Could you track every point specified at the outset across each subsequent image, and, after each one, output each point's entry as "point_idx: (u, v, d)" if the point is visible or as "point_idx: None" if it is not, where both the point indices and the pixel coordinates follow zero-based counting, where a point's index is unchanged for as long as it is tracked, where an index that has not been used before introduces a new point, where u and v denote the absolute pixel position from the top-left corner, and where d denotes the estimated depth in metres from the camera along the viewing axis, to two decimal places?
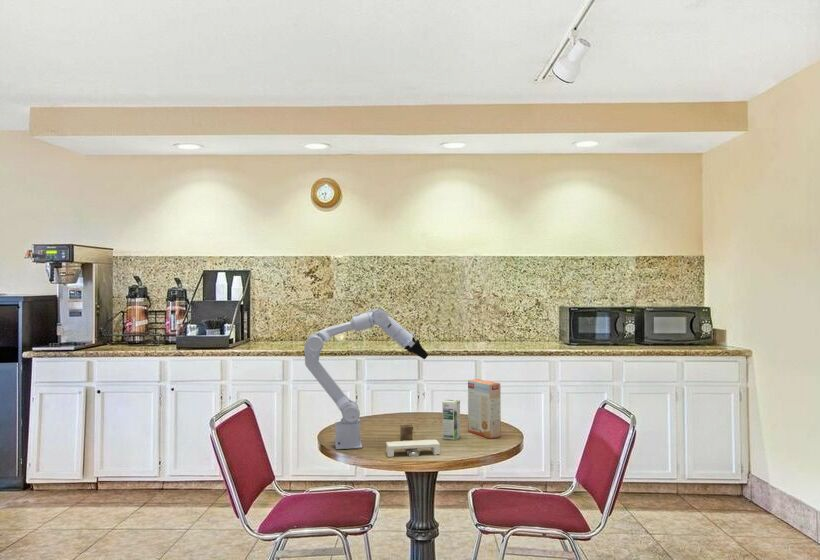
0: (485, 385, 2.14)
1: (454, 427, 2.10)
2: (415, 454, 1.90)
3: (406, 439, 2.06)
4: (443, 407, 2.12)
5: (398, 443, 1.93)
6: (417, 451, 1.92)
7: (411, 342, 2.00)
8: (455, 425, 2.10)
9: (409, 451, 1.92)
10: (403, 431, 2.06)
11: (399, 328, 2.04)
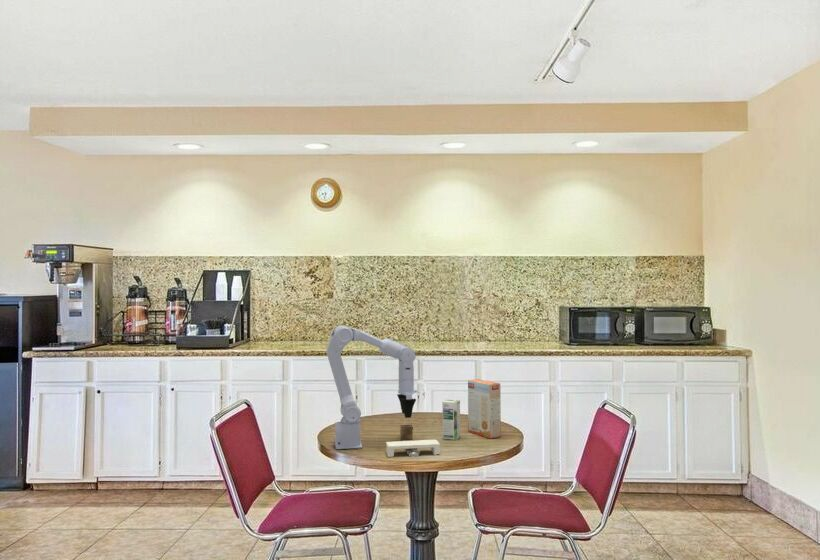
0: (485, 385, 2.14)
1: (454, 427, 2.10)
2: (415, 454, 1.90)
3: (406, 439, 2.06)
4: (443, 407, 2.12)
5: (398, 443, 1.93)
6: (417, 451, 1.92)
7: (410, 396, 2.01)
8: (455, 425, 2.10)
9: (409, 451, 1.92)
10: (403, 431, 2.06)
11: (411, 377, 2.07)
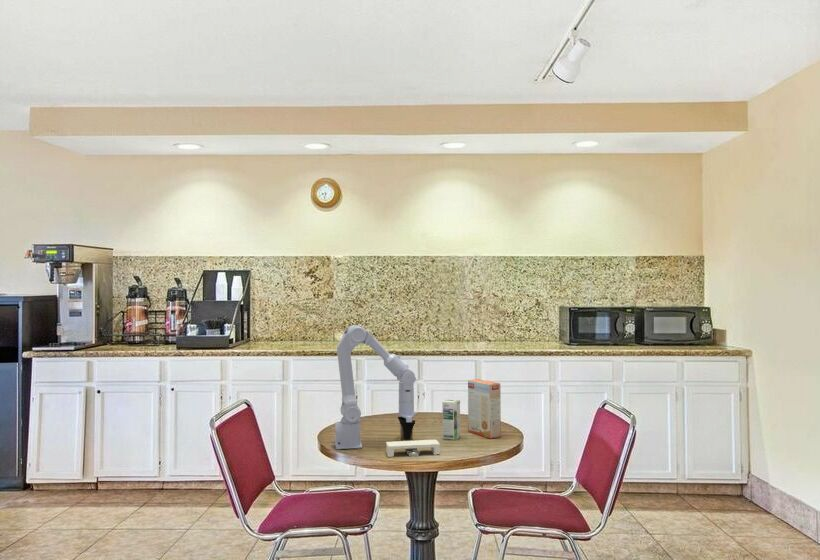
0: (485, 385, 2.14)
1: (454, 427, 2.10)
2: (415, 454, 1.90)
3: (406, 439, 2.06)
4: (443, 407, 2.12)
5: (398, 443, 1.93)
6: (417, 451, 1.92)
7: (410, 419, 2.01)
8: (455, 425, 2.10)
9: (409, 451, 1.92)
10: None
11: (412, 400, 2.07)
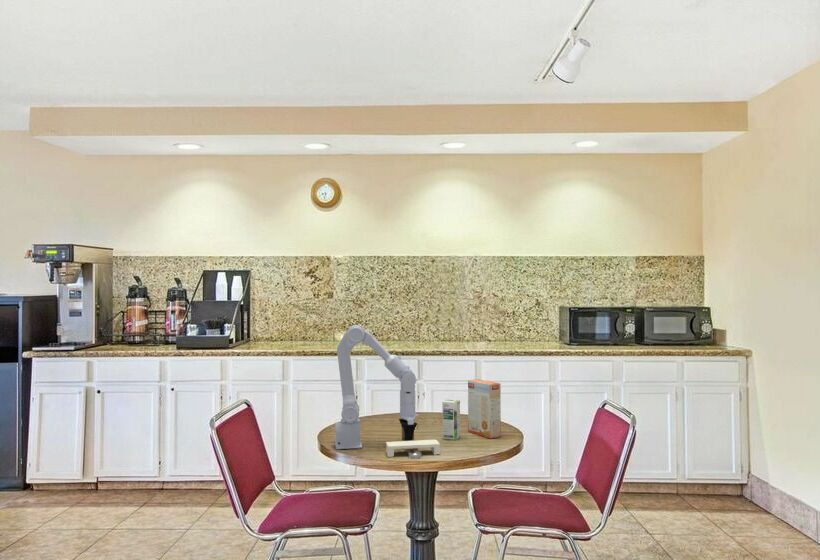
0: (485, 385, 2.14)
1: (454, 427, 2.10)
2: (417, 456, 1.87)
3: None
4: (443, 407, 2.12)
5: (398, 443, 1.93)
6: (419, 453, 1.89)
7: (412, 421, 1.98)
8: (455, 425, 2.10)
9: (410, 453, 1.89)
10: None
11: (412, 402, 2.03)
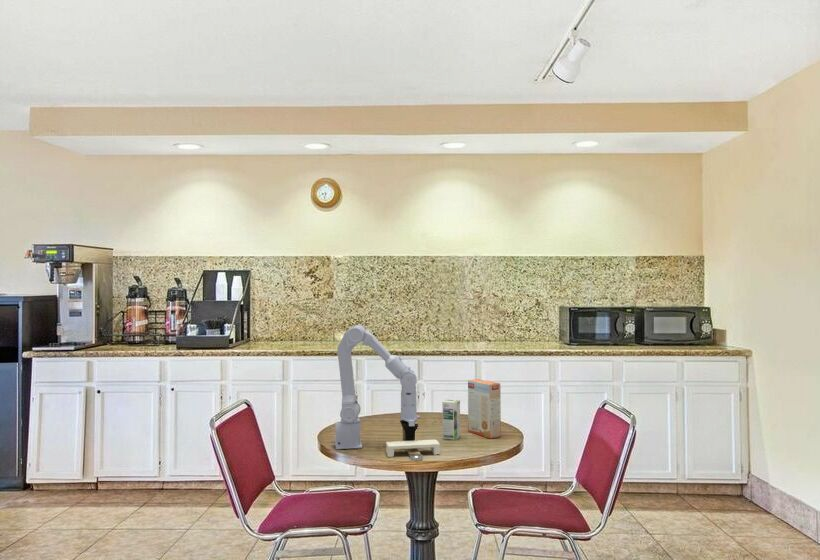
0: (485, 385, 2.14)
1: (454, 427, 2.10)
2: (418, 458, 1.85)
3: None
4: (443, 407, 2.12)
5: (398, 443, 1.93)
6: (420, 455, 1.87)
7: (413, 423, 1.95)
8: (455, 425, 2.10)
9: (412, 455, 1.87)
10: None
11: (412, 403, 2.00)
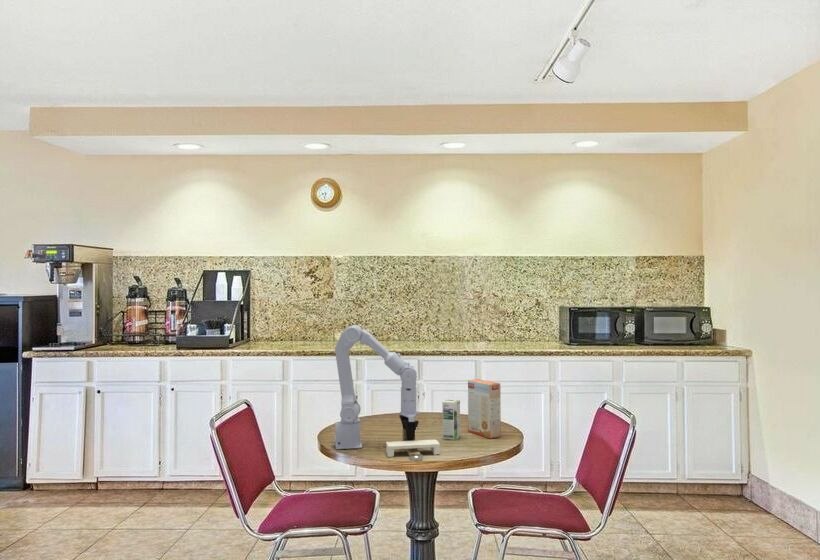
0: (485, 385, 2.14)
1: (454, 427, 2.10)
2: (418, 458, 1.85)
3: None
4: (443, 407, 2.12)
5: (398, 443, 1.93)
6: (420, 455, 1.87)
7: (412, 418, 1.95)
8: (455, 425, 2.10)
9: (412, 455, 1.87)
10: (405, 435, 2.00)
11: (412, 399, 2.00)
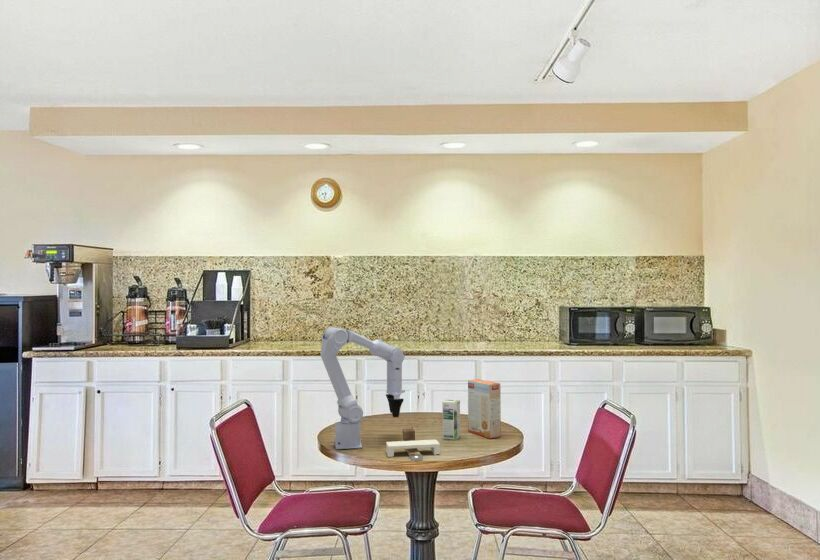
0: (485, 385, 2.14)
1: (454, 427, 2.10)
2: (418, 458, 1.85)
3: None
4: (443, 407, 2.12)
5: (398, 443, 1.93)
6: (420, 455, 1.87)
7: (397, 396, 2.05)
8: (455, 425, 2.10)
9: (412, 455, 1.87)
10: (405, 435, 2.00)
11: (400, 377, 2.11)
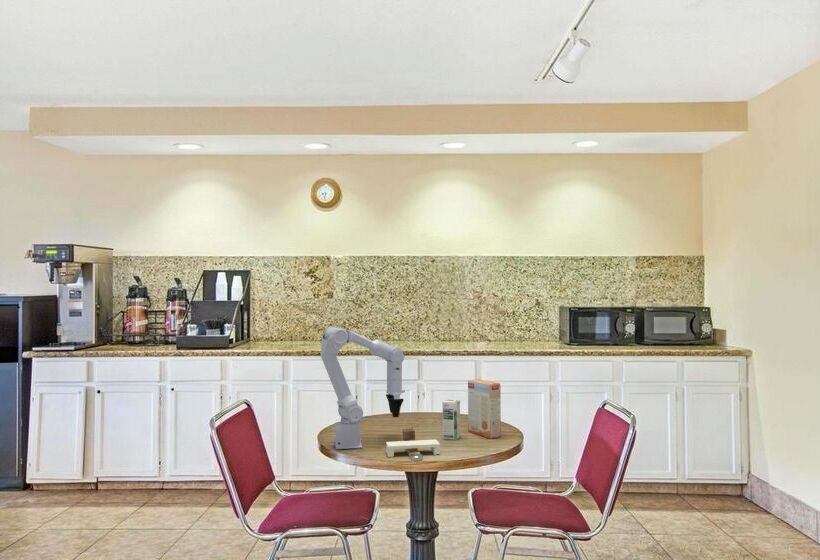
0: (485, 385, 2.14)
1: (454, 427, 2.10)
2: (418, 458, 1.85)
3: None
4: (443, 407, 2.12)
5: (398, 443, 1.93)
6: (420, 455, 1.87)
7: (397, 396, 2.05)
8: (455, 425, 2.10)
9: (412, 455, 1.87)
10: (405, 435, 2.00)
11: (400, 377, 2.11)
